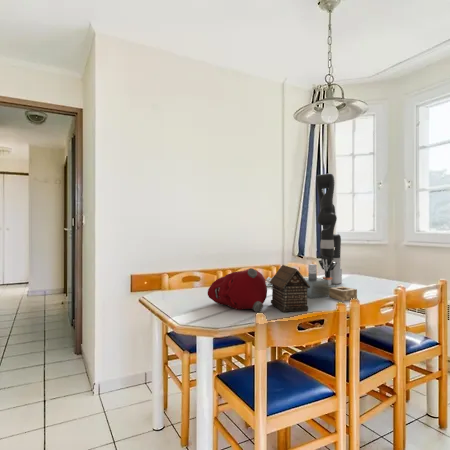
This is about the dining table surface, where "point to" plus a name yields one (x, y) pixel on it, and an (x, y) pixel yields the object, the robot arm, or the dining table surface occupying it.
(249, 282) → the mask
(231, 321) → the dining table surface
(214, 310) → the dining table surface
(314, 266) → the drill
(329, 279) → the release plunger
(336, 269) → the robot arm
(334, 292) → the brown square box
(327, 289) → the grey tissue box
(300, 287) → the model building
